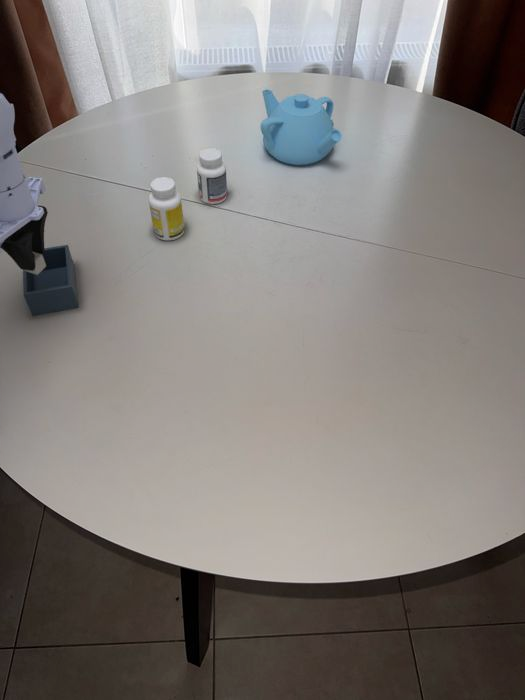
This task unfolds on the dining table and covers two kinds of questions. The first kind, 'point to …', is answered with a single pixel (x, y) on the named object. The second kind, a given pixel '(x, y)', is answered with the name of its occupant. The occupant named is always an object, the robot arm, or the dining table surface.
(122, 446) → the dining table surface
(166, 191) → the supplement bottle
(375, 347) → the dining table surface
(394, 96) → the dining table surface
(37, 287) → the bin
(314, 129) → the teapot
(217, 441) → the dining table surface
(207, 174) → the pill bottle
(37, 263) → the cube with brown bumps
